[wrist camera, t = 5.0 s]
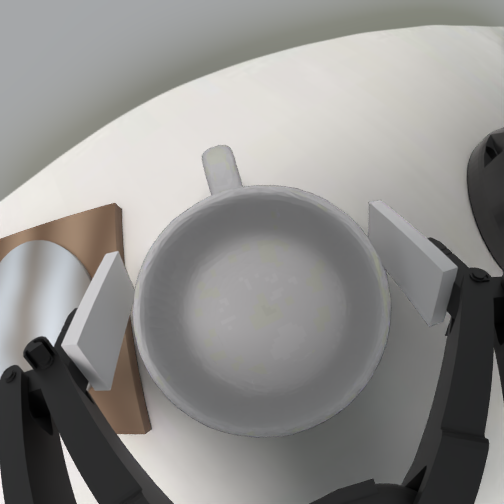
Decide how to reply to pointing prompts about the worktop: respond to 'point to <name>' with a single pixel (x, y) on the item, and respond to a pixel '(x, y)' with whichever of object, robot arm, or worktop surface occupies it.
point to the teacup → (261, 307)
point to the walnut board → (66, 300)
